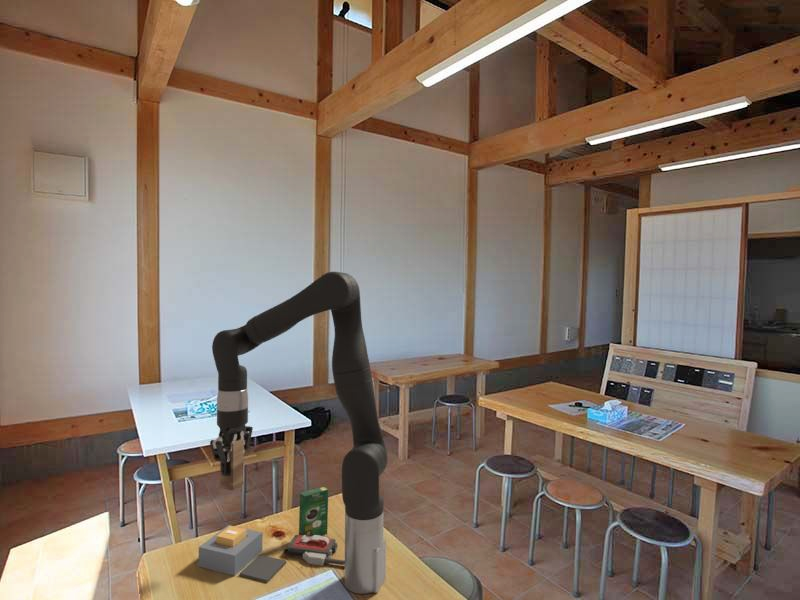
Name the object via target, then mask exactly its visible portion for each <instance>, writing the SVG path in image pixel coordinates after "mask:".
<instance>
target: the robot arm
mask: <svg viewBox="0 0 800 600" xmlns="http://www.w3.org/2000/svg"><path fill="white" fill-rule="evenodd" d="M361 305H362V304H361V293H360V286H359V284H358V282H357V280H356V279H355V277H353V275H350V274H349V273H347V272H346V273H345V272H339V271H329V272H326V273H324V274H322V275H321V276H319V277H318V278H316V280H314V281H313V282H311V283H310V284H309V285H308V286H306V287H305V288H304V289H302V290H301V291H299V292H298V293H296V294H295V295H294V296H291V297H290V298H288V299H286V300H285V301H283V302H281V303H279V304H277V305H275V306H273V307H271V308H269V309H267V310H265V311H263V312H260V313H259V314H257V315H255V316H253V317H251V318H250V319H249V320H248V321H246V323H245V324H244V325H243V326H242V325H241V326H240V327H237V328H234V329H233V328H232V329H226V330H224V329H223V330H221V331H219V332H218V333H216V335H215V336H214V338H213V340H212V344H211V347H212V348H211V349H212V356H213V359H214V360H213V361H214V363H215V367H216V371H217V374H218V377H217V379H218V380H217V397H216V425H217V427H218V428H219V433H218V437H217V438H216V439H211V440H210V441H209V444H210V448H211V452H212V455H213V459H214V461H215V462H219V463H220V462H221V474H222V475H223V476H229V475H230V469H231V461H230V459H231V452H232V451H233V448H232V447H233V443H235V441H236V440H238V439H240V440H241V439H244V453H245V452H246V451H248V450H249V448H250V444H251V440H252V434H253V426H248V425H247V424H248V422H249V395H248V394H249V393H248V370H247V368H246V366H244V365H241V364H240V363H239V356H242V355H245V354H247V353H249V352H251V351H253V350H255V349H256V348H257V347H259V346H260V345H262V344H263V343H267V342H268V341H270V340H273V339H274V338H275V339H276V338H277V337H279V336H281V335H282V334H285V332H287V331H289V330H291V329H293V327H295V326H296V325H297V324H298V323H300V322H301V321H303V320H306V319H307V318H309V317H311V316H314V315H317V314H320V313H324V312H327V311H330V312H331V316H332V323H333V328H334V339H333V348H332V356H331V370H332V371H331V372H332V378H333V384H334V388H335V393H336V396H337V398H338V400H339V402H340V404H341V405H342V408H343V409H344V411H345V412H346V415H347V417H348V420H349V422H350V427H351V434H352V443H353V447H352V448H351V449H350V450H349V451H348V452H347V453H346V454H345V456H344V458H343V460H342V464H341V495H342V502H343V504H344V507H345V508H344V519H345V520H344V560H345V564H344V571H343V572H344V576H343V577H344V580H343V581H344V586H345V587H346V588H347V590H349V591H350V592H352V593H355V594H360V595H361V594H364V595H365V594H370V593H373V594H377V593H378V592H379V590H380V588H381V586H382V585H383V583H384V581H385V580H386V578H387V577H386V573H387V572H386V571H387V570H386V569H387V567H386V566H387V551H386V550H387V540H386V538H384V508H385V507H384V505H385V503H384V498H383V497H382V495H381V494H380V477H381V475H382V474H383V473H384V472H385V470H386V468H387V465H388V452H387V448H386V445H385V440H384V436H383V433H382V430H381V425H380V421H379V417H378V412H377V401H376V397H375V391H374V390H375V389H374V384H373V383H374V382H373V377H372V376H373V375H372V370H371V365H370V360H369V359H370V358H369V355H368V354H369V353H368V349H367V344H366V340H365V339H366V338H365V333H364V330H363V329H364V328H363V323H362V321H363V320H362V308H361V307H362V306H361ZM223 445H224V446H226V447H230V448H229V449H227V448H224V447H223ZM225 452H227V456H225Z"/></svg>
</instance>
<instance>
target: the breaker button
mask: <svg viewBox="0 0 800 600" xmlns="http://www.w3.org/2000/svg"><path fill="white" fill-rule="evenodd" d="M238 527H239V526H236V527H234V525H231V526H229V527H228V528H226V529H225V530H224V531H222V532H221V533H220V534H218V535H217V536H216V544H220V545H224V546H228V547H232V548H234V547H235V546H236V545H237V544H239V543H240V542H241V541H242V540H243V539H245V538H246V530H247V529H248V528H245V529H243V527H240V528H238Z"/></svg>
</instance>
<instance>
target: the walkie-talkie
mask: <svg viewBox="0 0 800 600" xmlns="http://www.w3.org/2000/svg"><path fill="white" fill-rule="evenodd" d="M337 550H338V543H337V542H336V539H335V538H330V537H329V536H327V535H322V536H320V535H313V536H306V535H299V534H295V535H294V536H293V538H292V539H291V540H290V541H289V542H288V545H287V548H284V549H283V550H282V551H283V554H284V555H287V556H289V557H292V558H293V557H294V558H301V559H303V560H304V561H305V562H307V564H309V565H316V566H319V567H324V566H325V564H328V565H329V564H332V565H341V566H343V565H344V566H345V559H336V558H332V554H333V553H334V552H335V553H336V552H337Z"/></svg>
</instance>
